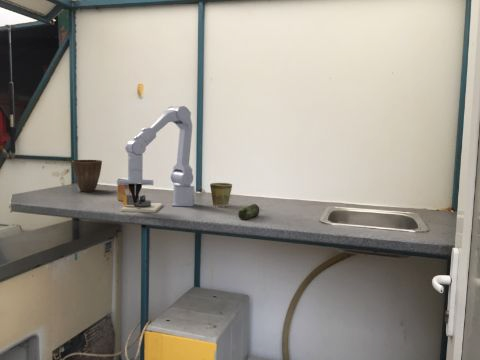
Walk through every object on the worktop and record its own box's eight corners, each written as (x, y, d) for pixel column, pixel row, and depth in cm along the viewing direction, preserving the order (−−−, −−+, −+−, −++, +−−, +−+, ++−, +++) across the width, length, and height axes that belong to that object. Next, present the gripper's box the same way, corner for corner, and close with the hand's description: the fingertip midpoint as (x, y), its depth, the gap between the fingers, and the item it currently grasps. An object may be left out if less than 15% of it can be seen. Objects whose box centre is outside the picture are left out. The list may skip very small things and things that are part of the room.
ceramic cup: (228, 208, 180) (229, 186, 178) (207, 206, 181) (207, 184, 180) (235, 203, 192) (235, 182, 191) (214, 202, 194) (215, 181, 193)
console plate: (162, 205, 181) (162, 202, 181) (154, 212, 165) (154, 209, 165) (131, 204, 181) (131, 201, 181) (120, 211, 165) (120, 208, 165)
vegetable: (247, 221, 155) (248, 208, 154) (235, 220, 157) (236, 207, 157) (262, 215, 167) (262, 203, 167) (250, 214, 170) (251, 202, 169)
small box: (117, 200, 189) (117, 178, 188) (125, 199, 194) (125, 177, 193) (130, 202, 186) (130, 179, 184) (138, 200, 190) (138, 178, 189)
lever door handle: (151, 204, 177) (151, 194, 176) (150, 207, 170) (150, 196, 170) (123, 204, 175) (123, 194, 174) (122, 207, 168) (122, 196, 167)
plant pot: (91, 193, 207) (91, 162, 205) (66, 191, 210) (65, 160, 208) (107, 189, 221) (107, 160, 219) (83, 188, 225) (83, 159, 223)
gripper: (153, 168, 172) (152, 200, 173) (117, 168, 168) (117, 200, 170) (153, 170, 165) (153, 203, 166) (116, 170, 161) (116, 203, 163)
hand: (135, 202), depth 168 cm, fingers closed
